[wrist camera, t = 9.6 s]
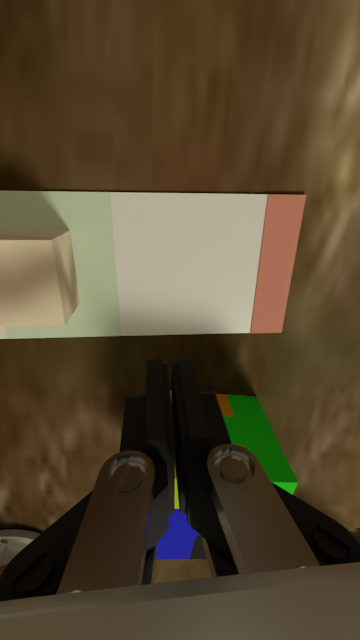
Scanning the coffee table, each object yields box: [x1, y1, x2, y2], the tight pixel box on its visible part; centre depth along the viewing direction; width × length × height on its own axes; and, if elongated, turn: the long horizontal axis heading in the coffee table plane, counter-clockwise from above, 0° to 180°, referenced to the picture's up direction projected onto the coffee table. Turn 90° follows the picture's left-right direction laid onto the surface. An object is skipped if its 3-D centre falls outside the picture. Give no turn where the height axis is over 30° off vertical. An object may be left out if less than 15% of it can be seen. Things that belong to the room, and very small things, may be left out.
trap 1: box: [250, 194, 306, 333], centre depth 25 cm, size 12×3×1 cm, turn 179°
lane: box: [0, 191, 268, 339], centre depth 24 cm, size 12×24×1 cm, turn 89°
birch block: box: [0, 230, 80, 327], centre depth 21 cm, size 6×8×4 cm
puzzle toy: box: [156, 390, 298, 559], centre depth 28 cm, size 10×10×10 cm
